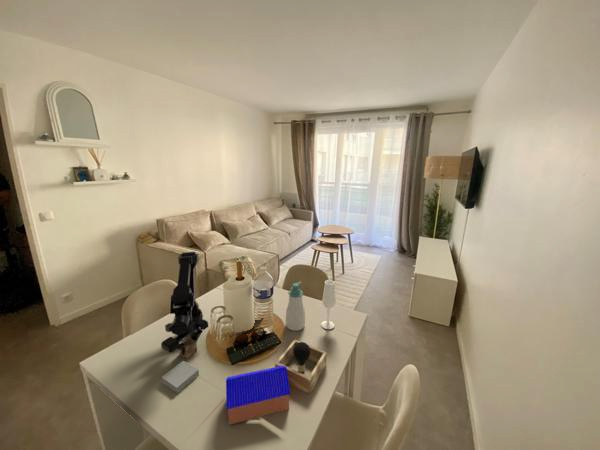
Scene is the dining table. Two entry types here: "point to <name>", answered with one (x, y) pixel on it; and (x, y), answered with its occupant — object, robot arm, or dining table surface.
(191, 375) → the grey plinth
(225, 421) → the dining table surface
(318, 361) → the oak bulb corral
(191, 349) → the walnut cube
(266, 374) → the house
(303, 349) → the light bulb
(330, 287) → the champagne flute
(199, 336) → the robot arm
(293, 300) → the soap bottle
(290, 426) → the dining table surface
